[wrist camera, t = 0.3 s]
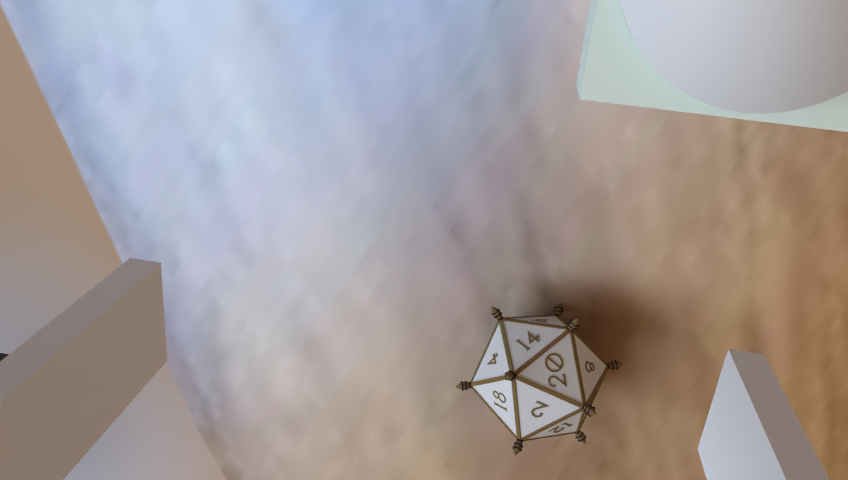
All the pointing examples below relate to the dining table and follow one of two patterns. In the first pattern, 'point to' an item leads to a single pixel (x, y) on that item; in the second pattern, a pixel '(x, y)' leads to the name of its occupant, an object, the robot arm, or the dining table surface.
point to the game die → (539, 376)
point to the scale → (721, 58)
